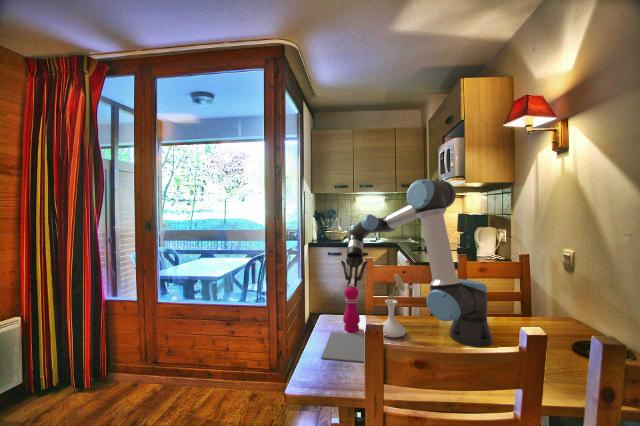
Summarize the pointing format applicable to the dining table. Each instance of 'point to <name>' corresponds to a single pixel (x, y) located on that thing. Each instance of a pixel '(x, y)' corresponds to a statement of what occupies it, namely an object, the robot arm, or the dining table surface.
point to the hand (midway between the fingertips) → (352, 292)
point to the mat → (344, 347)
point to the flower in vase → (391, 324)
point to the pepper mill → (351, 310)
